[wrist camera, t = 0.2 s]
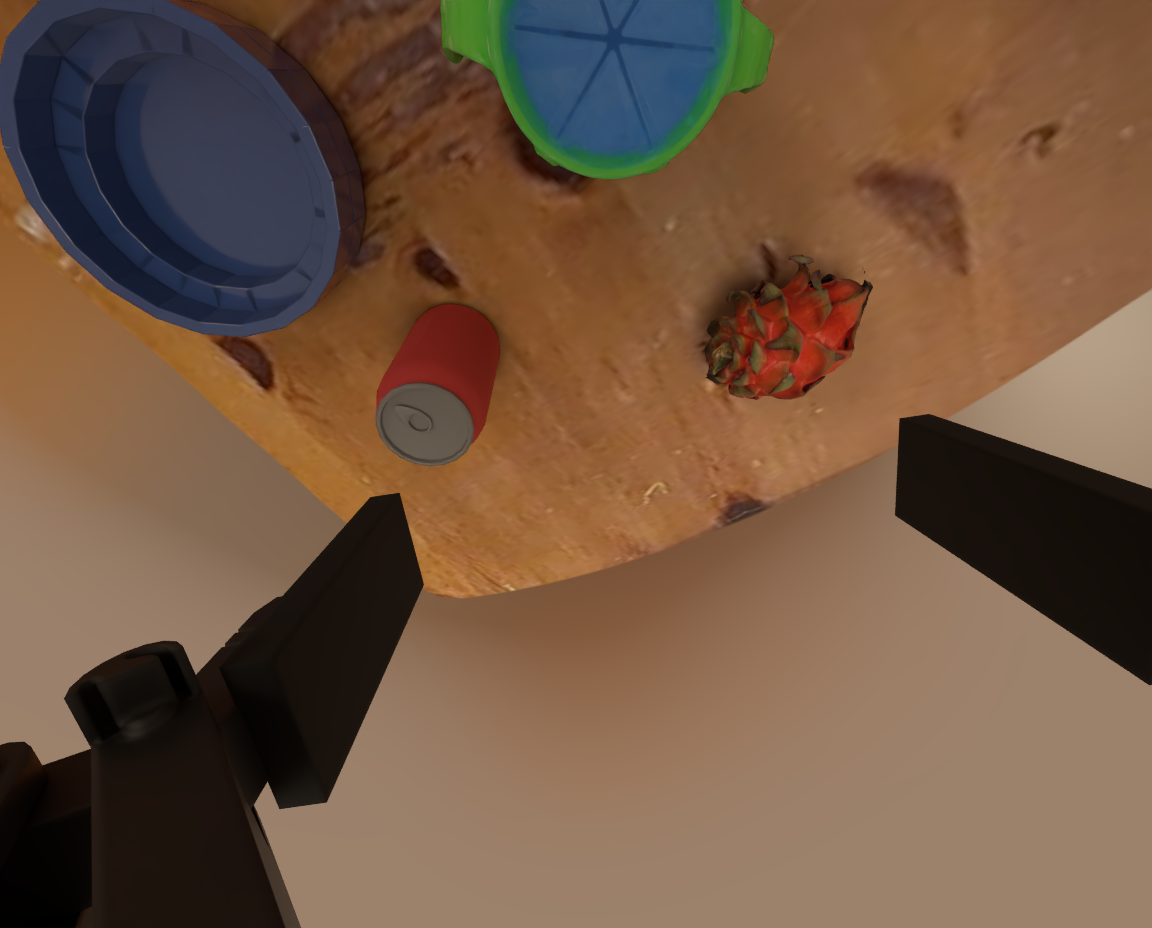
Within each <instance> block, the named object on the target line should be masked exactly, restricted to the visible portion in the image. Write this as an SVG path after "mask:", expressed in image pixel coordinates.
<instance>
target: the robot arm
mask: <svg viewBox="0 0 1152 928" xmlns="http://www.w3.org/2000/svg"><path fill="white" fill-rule="evenodd" d="M897 466H898V467H897V486H896V488H897V489H896V507H895V516H897V517H898V518H900V519H901V520H903V521H904V522H906V523H907V524H909V525H910V526H912V527H913V528H915V529H916V530H918V531H919V532H921V533H922V534H924V535H925V536H927V537H928V538H930V539H931V540H933V541H934V542H936V543H937V544H939V545H940V546H942V547H943V548H945V549H946V550H948V551H949V552H951V553H952V554H954V555H955V556H957V557H958V558H960V559H961V560H963V561H964V562H966V563H967V564H969V565H970V566H972V567H973V568H975V569H976V570H978V571H979V572H981V573H982V574H984V575H985V576H987V577H988V578H990V579H991V580H993V581H994V582H996V583H997V584H999V585H1000V586H1002V587H1003V588H1005V589H1006V590H1008V591H1009V592H1011V593H1013V594H1014V595H1015V596H1017V597H1018V598H1020V599H1021V600H1023V601H1024V602H1026V603H1027V604H1029V605H1030V606H1031V607H1033V608H1035V609H1036V610H1038V611H1039V612H1040V613H1042V614H1043V615H1045V616H1047V617H1048V618H1049V619H1051V620H1052V621H1054V622H1056V623H1057V624H1058V625H1060V626H1061V627H1063V628H1064V629H1066V630H1067V631H1069V632H1070V633H1072V634H1074V635H1075V636H1076V637H1078V638H1080V639H1081V640H1083V641H1084V642H1085V643H1087V644H1088V645H1090V646H1092V647H1093V648H1094V649H1096V650H1097V651H1099V652H1100V653H1102V654H1103V655H1105V656H1107V657H1108V658H1109V659H1111V660H1112V661H1114V662H1115V663H1117V664H1118V665H1120V666H1121V667H1123V668H1124V669H1126V670H1127V671H1129V672H1131V673H1132V674H1134V675H1135V676H1136V677H1138V678H1139V679H1141V680H1142V681H1144V682H1145V683H1147V684H1148V685H1152V489H1151V488H1148V487H1145V486H1142V485H1139V484H1136V483H1133V482H1130V481H1127V480H1124V479H1121V478H1118V477H1115V476H1112V475H1109V474H1106V473H1103V472H1100V471H1097V470H1094V469H1091V468H1088V467H1085V466H1082V465H1079V464H1076V463H1074V462H1070V461H1068V460H1064V459H1062V458H1059V457H1056V456H1053V455H1049V454H1047V453H1044V452H1041V451H1038V450H1035V449H1031V448H1029V447H1026V446H1023V445H1020V444H1017V443H1014V442H1011V441H1008V440H1005V439H1002V438H999V437H996V436H993V435H990V434H987V433H984V432H981V431H978V430H975V429H972V428H969V427H966V426H963V425H960V424H957V423H954V422H951V421H948V420H945V419H942V418H939V417H936V416H933V415H930V414H926V415H920V416H913V417H906V418H900V422H899V443H898V465H897ZM423 585H424V583H423V579H422V575H421V572H420V568H419V564H418V560H417V557H416V553H415V549H414V545H413V542H412V538H411V534H410V530H409V527H408V523H407V519H406V515H405V512H404V508H403V504H402V500H401V497H400V493H395V494H388V495H382V496H375V497H370V498H369V499H368V501H367V502H366V503H365V504H364V505H363V506H362V507H361V508H360V510H359V511H358V512H357V513H356V514H355V515H354V516H353V517H352V519H351V520H350V521H349V522H348V523H347V524H346V526H344V528H343V529H342V530H341V531H340V532H339V533H338V534H337V535H336V537H335V538H334V539H333V540H332V541H331V542H330V543H329V545H328V546H327V547H326V548H325V549H324V550H323V551H322V552H321V553H320V555H319V556H318V557H317V558H316V559H315V560H314V561H313V562H312V564H311V565H310V566H309V567H308V568H307V569H306V571H304V573H303V574H302V575H301V576H300V577H299V578H298V580H297V581H296V582H295V583H294V584H293V585H292V586H291V587H290V588H289V590H288V591H287V592H286V593H285V594H284V595H283V596H282V597H276V598H275V599H274V600H272V601H271V602H269V603H268V604H266V605H265V606H263V607H262V608H260V609H259V610H257V611H256V612H254V613H253V614H252V615H251V616H250V618H249V619H248V620H247V621H246V622H245V623H244V624H243V625H242V626H241V627H240V628H239V629H238V631H239V632H238V633H235V634H234V635H233V636H232V637H231V638H230V639H229V640H228V641H227V642H226V643H225V647H222V648H221V649H220V650H219V651H218V652H217V653H216V654H215V655H214V656H213V657H212V658H211V660H209V662H208V663H207V664H206V665H205V666H204V667H203V668H202V669H201V670H200V671H199V672H198V673H197V675H195V672H194V670H193V668H192V666H191V664H190V661H189V659H188V657H187V654H186V652H185V650H184V648H183V646H182V645H181V644H179V643H178V642H177V641H160V642H156V643H151V644H146V645H143V646H140V647H138V648H134V649H132V650H129V651H126V652H123V653H121V654H120V655H117V656H115V657H113V658H111V659H109V660H107V661H105V662H103V663H102V664H100V665H99V666H97V667H95V668H94V669H92V670H91V671H89V672H88V673H86V674H84V675H83V676H82V677H81V678H80V679H79V680H78V681H77V682H76V683H74V684H73V685H72V686H71V687H70V688H69V690H68V692H67V694H66V696H65V698H64V699H65V701H66V703H67V705H68V707H69V709H70V710H71V712H72V714H73V716H74V718H75V720H76V721H77V723H78V725H79V727H80V729H81V731H82V732H83V734H84V736H85V738H86V739H87V741H88V743H89V745H90V746H91V749H89V750H86V751H83V752H80V753H78V754H75V755H72V756H69V757H66V758H63V759H60V760H57V761H54V762H51V763H48V764H46V765H42V764H41V763H40V761H39V759H38V757H37V756H36V754H35V752H34V751H33V749H32V747H31V746H29V745H28V744H27V743H25V742H12V743H11V742H10V743H6V744H2V745H0V928H301V926H300V924H299V921H298V918H297V916H296V913H295V910H294V908H293V905H292V902H291V900H290V897H289V894H288V892H287V889H286V887H285V884H284V881H283V879H282V876H281V873H280V870H279V868H278V865H277V862H276V860H275V857H274V854H273V852H272V849H271V847H270V844H269V841H268V838H267V836H266V833H265V830H264V828H263V825H262V823H261V820H260V818H259V816H258V813H257V811H256V809H255V807H254V804H255V802H256V800H257V798H258V797H259V795H260V793H261V792H262V790H263V788H264V787H265V785H266V783H267V781H268V783H269V786H270V788H271V790H272V793H273V795H274V797H275V799H276V802H277V804H278V806H279V809H284V808H291V807H297V806H305V805H312V804H319V803H326V802H327V800H328V798H329V796H330V794H331V792H332V789H333V787H334V785H335V783H336V780H337V778H338V776H339V774H340V771H341V769H342V767H343V765H344V762H345V760H346V758H347V755H348V753H349V751H350V749H351V747H352V745H353V742H354V740H355V738H356V736H357V733H358V731H359V729H360V727H361V724H362V722H363V720H364V718H365V715H366V713H367V711H368V709H369V706H370V704H371V702H372V700H373V698H374V695H375V693H376V691H377V689H378V686H379V684H380V682H381V680H382V677H383V675H384V673H385V671H386V668H387V666H388V664H389V662H390V659H391V657H392V655H393V653H394V650H395V648H396V646H397V644H398V641H399V639H400V637H401V635H402V633H403V630H404V628H405V626H406V624H407V621H408V619H409V617H410V615H411V612H412V610H413V608H414V606H415V603H416V601H417V599H418V597H419V594H420V592H421V590H422V588H423Z"/></svg>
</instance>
